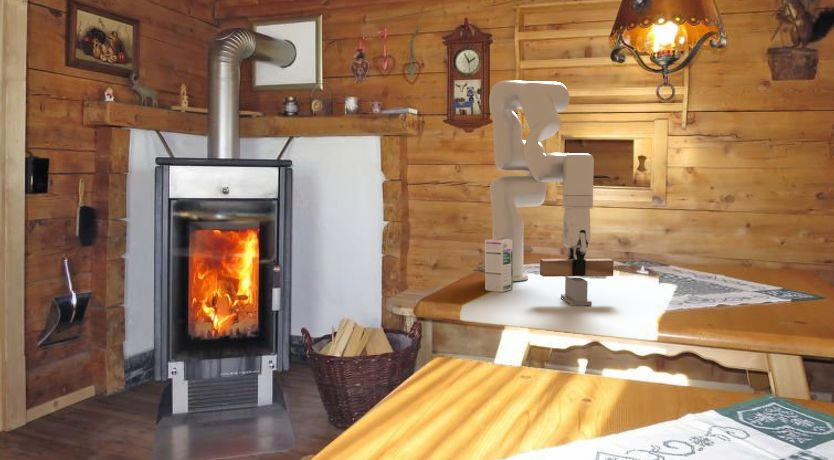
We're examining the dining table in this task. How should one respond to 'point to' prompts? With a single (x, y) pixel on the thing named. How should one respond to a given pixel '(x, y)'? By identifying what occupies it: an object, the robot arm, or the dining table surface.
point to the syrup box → (498, 265)
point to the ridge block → (576, 291)
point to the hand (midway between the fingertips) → (576, 273)
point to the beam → (565, 267)
